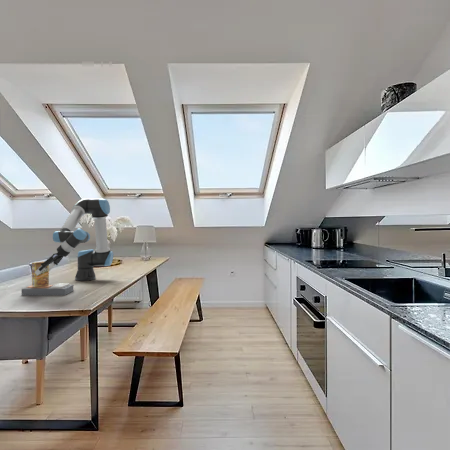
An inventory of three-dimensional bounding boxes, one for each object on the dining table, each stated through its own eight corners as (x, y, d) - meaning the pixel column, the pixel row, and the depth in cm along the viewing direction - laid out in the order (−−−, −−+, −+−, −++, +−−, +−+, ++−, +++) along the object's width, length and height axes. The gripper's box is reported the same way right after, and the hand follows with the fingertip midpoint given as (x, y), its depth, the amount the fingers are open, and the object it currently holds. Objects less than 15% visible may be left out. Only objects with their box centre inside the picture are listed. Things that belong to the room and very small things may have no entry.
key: (33, 288, 225) (33, 284, 225) (53, 288, 226) (53, 284, 226) (26, 291, 217) (26, 287, 217) (47, 291, 218) (47, 287, 218)
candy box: (35, 287, 217) (35, 262, 216) (31, 286, 219) (31, 262, 219) (49, 285, 224) (49, 261, 224) (45, 284, 226) (45, 261, 226)
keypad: (32, 290, 228) (32, 282, 228) (73, 290, 229) (73, 282, 229) (21, 295, 214) (21, 286, 214) (64, 295, 215) (64, 286, 215)
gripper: (61, 254, 209) (36, 279, 209) (77, 251, 234) (54, 273, 234) (52, 245, 209) (27, 270, 208) (69, 243, 234) (46, 265, 233)
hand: (41, 272), depth 221 cm, fingers open, 13 cm apart
